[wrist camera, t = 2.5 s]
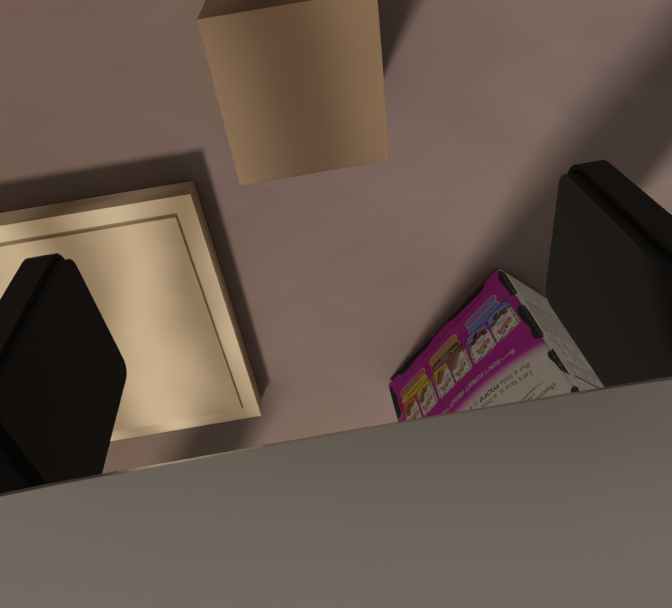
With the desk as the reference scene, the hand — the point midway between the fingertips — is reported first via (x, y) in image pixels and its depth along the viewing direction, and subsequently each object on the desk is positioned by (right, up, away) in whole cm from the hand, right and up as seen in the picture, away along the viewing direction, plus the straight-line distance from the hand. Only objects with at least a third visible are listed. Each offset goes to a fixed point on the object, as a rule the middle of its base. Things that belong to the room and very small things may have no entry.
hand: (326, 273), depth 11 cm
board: (-14, -2, +22) cm, 26 cm away
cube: (-2, +11, +14) cm, 18 cm away
